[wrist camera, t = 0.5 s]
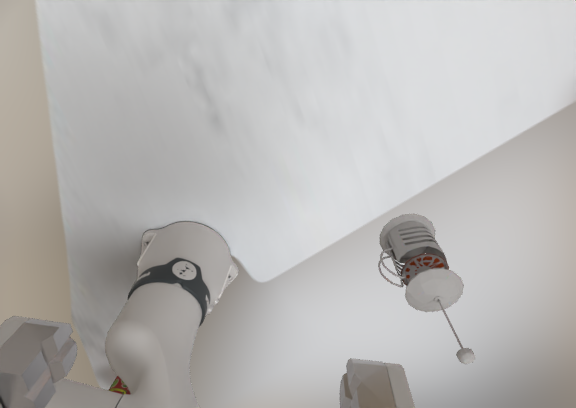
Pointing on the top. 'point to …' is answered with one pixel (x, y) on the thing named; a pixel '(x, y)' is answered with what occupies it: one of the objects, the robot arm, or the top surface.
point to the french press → (422, 268)
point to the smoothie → (119, 387)
